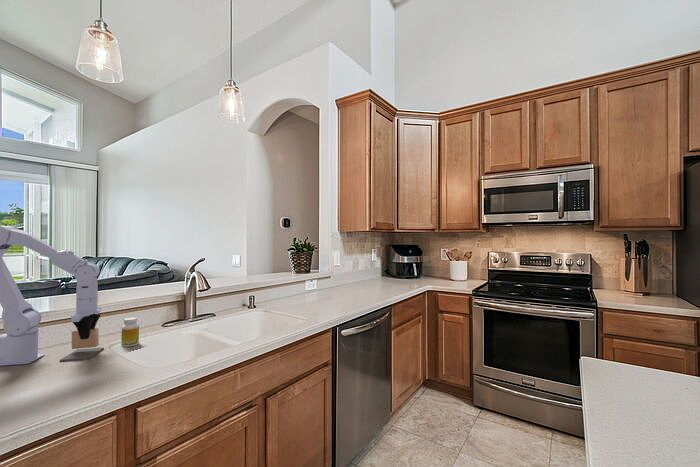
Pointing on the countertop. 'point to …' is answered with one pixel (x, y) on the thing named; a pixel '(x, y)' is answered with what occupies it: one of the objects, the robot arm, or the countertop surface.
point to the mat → (82, 354)
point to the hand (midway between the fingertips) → (86, 337)
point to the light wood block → (85, 343)
